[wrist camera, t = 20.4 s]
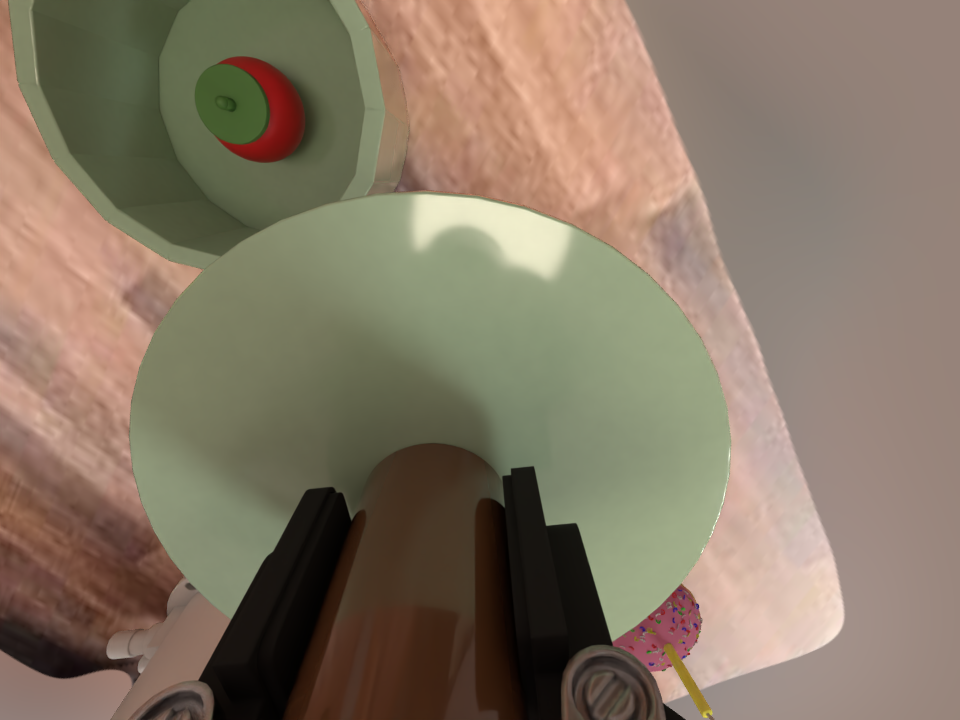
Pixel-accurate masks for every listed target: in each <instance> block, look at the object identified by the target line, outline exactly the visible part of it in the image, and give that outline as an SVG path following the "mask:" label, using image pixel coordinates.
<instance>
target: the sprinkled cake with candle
mask: <svg viewBox="0 0 960 720" xmlns="http://www.w3.org/2000/svg"><path fill="white" fill-rule="evenodd" d="M697 605H698V604H697V603H696V600H695V598H694V596H693V595H692V593H691V592H690V591H689V590H688V589H687V588H686V587H684V586H683V585H682V583H681V584H680V585H679V587H678V588H677V589H676V590H675V591H674V592H673V593H672V594H671V595H670V596H669V597H668V598H667V599H666V600H665V601H664V602H663V604H662V605H661V606H660V607H658V608H657V609H656V610H655V611H654V612H653V613H651V614H650V615H649V616H648V617H647V618H645V619H644V620H643V621H642V622H641V623H639V624H638V625H637V626H636V627H634V628H633V629H631V630H630V631H628V632H627V633H625V634H624V635H622V636H621V637H619V638H618V639H616V640H615V641H613V642H612V643H613V646H614V647H619V648H621V649H623V650H625V651H627V652H629V653H631V654H633V655H634V656H635V657H636V658H637V659H639V660H640V661H641V662H642V663H643V664H644V665H645V666H646V667H647V668H648V670H649V671H650V672H653V671H661V670H662V671H665V670H666V668H668V667H672V665H673V666H674V668H675V670H676V671H677V673H678V675H679V677H680V678H681V680H682V682H683V684H684V685H685V687H686V689H687V690H688V692H689V694H690V696H691V697H692V699H693V701H694V703H695V704H696V706H697V708H698V709H699V711H700V713H701V715H702V716H703V717H704V718H709V719H710V720H714V719H713V717H712V716H711V715H712V710H711V709H710V707H709V705H708V704H707V702H706V700H705V699H704V697H703V695H702V694H701V692H700V690H699V689H698V687H697V685H696V684H695V682H694V680H693V679H692V677H691V675H690V674H689V672H688V670H687V669H686V667H685V665H684V664H683V662H682V661H681V660H683V658H685V657H687V656H686V655H690V653H688V652H689V651H690V650H691V649H692V647H693V646H694V645H695V643H698V642H697V639H698V637H699V635H698V634H699V633H700V632H701V631H699V630H701V623H702V618H701V617H700V612H699V605H698V606H697Z"/></svg>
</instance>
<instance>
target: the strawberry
mask: <svg viewBox="0 0 960 720" xmlns="http://www.w3.org/2000/svg"><path fill="white" fill-rule="evenodd" d="M195 104H196V108H197V111H198V114H199V116H200V118H201V120H202V122H203V123H204V125H205V126H206V127H207V128H208V130H209V131H210V132H211V133H213V134H214V136H215V137H216V138H217V139H218V140H219V141H220V142H221V143H222V144H223V145H224V146H225V147H226V148H227V149H228V150H229V151H231V152H232V153H234V154H236V155H237V156H239V157H242V158H244V159H246V160H249V161H253V162H258V163H271V162H276V161H279V160H282V159H284V158H286V157H288V156H289V155H290V154H292V153H293V152H294V151H295V150H296V149H297V147H298V146H299V144H300V142H301V140H302V138H303V135H304V131H305V112H304V107H303V104H302V101H301V98H300V96H299V94H298V92H297V90H296V89H295V87H294V86H293V84H292V83H291V82H290V80H289V79H288V78H287V77H286V76H285V75H284V74H283V73H282V72H281V71H279V70H278V69H277V68H275V67H274V66H272V65H271V64H269V63H267V62H265V61H262V60H260V59H257V58H253V57H247V56H236V57H231V58H227V59H225V60H223V61H220V62H219V63H217V64H216V65H213V66H211V67H209V68H207V69H206V70H205V71H204V72H203V73H202V74H201V75H200V77H199V79H198V81H197V83H196V87H195Z"/></svg>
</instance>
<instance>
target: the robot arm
mask: <svg viewBox="0 0 960 720" xmlns="http://www.w3.org/2000/svg"><path fill="white" fill-rule="evenodd" d="M502 481H503V493H504V504H505V515H506V526H507V538H508V549H509V560H510V571H511V583H512V594H513V605H514V617H515V627H516V637H517V646H518V655H519V663H520V671H521V679H522V686H523V688H524V690H525V693H526V697H527V702H528V712H529V720H685V719H684V718H683V717H681V716H680V715H678V714H677V713H676V712H675V711H673V710H672V709H670V708H669V707H667V706H666V705H665V704H664V703H663V702H662V697H661V694H660V691H659V688H658V686H657V683H656V680H655V679H654V677H653V676H652V674H651V673H650V671H649V670H648V668H647V667H646V666H645V665H644V664H643V663H642V662H641V661H640V660H639V659H637V658H636V657H635V656H634V655H633V654H631V653H629V652H627V651H625V650H623V649H621V648H619V647H614V646H613V643H612V640H611V637H610V633H609V630H608V626H607V623H606V619H605V616H604V613H603V609H602V606H601V602H600V599H599V596H598V592H597V589H596V585H595V582H594V578H593V575H592V572H591V568H590V565H589V561H588V558H587V555H586V551H585V548H584V544H583V541H582V538H581V534H580V531H579V528H578V525H577V524H576V523H569V524H559V525H549V526H546V523H545V518H544V513H543V508H542V503H541V498H540V493H539V488H538V483H537V478H536V473H535V468H534V466H530V467H520V468H511V475H505V476H502ZM351 522H352V521H351V518H350V514H349V511H348V507H347V504H346V501H345V497H344V495H343V493H342V492H336V490H335V488H334V487H323V488H313V489H308V490H306V492H305V493H304V495H303V496H302V498H301V500H300V502H299V504H298V506H297V508H296V510H295V511H294V513H293V515H292V517H291V519H290V521H289V523H288V524H287V526H286V528H285V530H284V532H283V534H282V536H281V538H280V539H279V541H278V543H277V545H276V547H275V549H274V551H273V552H272V553H270V554H269V555H268V556H267V557H266V558H265V560H264V561H263V563H262V564H261V566H260V568H259V570H258V572H257V574H256V575H255V577H254V579H253V581H252V583H251V584H250V586H249V588H248V590H247V592H246V594H245V595H244V597H243V599H242V601H241V603H240V605H239V606H238V608H237V610H236V612H235V614H234V616H233V617H232V619H231V620H230V619H229V618H228V617H227V616H225V615H224V614H223V613H222V612H220V611H219V610H218V609H216V608H215V607H214V606H213V605H212V604H211V603H210V602H209V601H208V600H207V599H206V598H205V597H204V596H203V595H202V594H201V593H200V592H199V591H198V590H197V589H196V588H195V587H194V586H193V585H192V584H190V582H189V581H188V580H187V579H186V577H185V576H184V577H183V578H182V579H181V580H180V581H179V583H178V584H177V585H176V587H175V588H174V590H173V591H172V593H171V594H170V597H169V600H168V602H167V616H168V617H167V618H166V620H165V621H164V622H162V623H157V624H155V625H153V626H152V627H151V628H150V629H148V630H144V629H136V630H126V631H118V632H117V633H115V634H114V635H113V636H112V637H111V639H110V640H109V642H108V645H107V652H106V653H107V656H108V658H110V659H120V658H130V657H135V656H138V655H143V657H142V658H141V659H140V661H139V663H138V672H139V673H141V675H140V676H139V678H138V679H137V681H136V682H135V684H134V685H133V686H132V688H131V689H130V691H129V692H128V694H127V696H126V697H125V699H124V700H123V701H122V703H121V705H120V706H119V707H118V709H117V710H116V712H115V713H114V715H113V716H112V718H111V720H281V719H282V716H283V713H284V710H285V708H286V705H287V702H288V699H289V696H290V694H291V691H292V688H293V685H294V682H295V680H296V677H297V674H298V671H299V668H300V665H301V663H302V660H303V657H304V654H305V651H306V649H307V646H308V643H309V640H310V637H311V634H312V632H313V629H314V626H315V623H316V620H317V618H318V615H319V612H320V609H321V606H322V603H323V601H324V598H325V595H326V592H327V589H328V587H329V584H330V581H331V578H332V575H333V573H334V570H335V567H336V564H337V561H338V558H339V556H340V553H341V550H342V547H343V544H344V542H345V539H346V536H347V533H348V530H349V527H350V525H351Z"/></svg>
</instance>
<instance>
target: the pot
mask: <svg viewBox="0 0 960 720" xmlns="http://www.w3.org/2000/svg"><path fill="white" fill-rule="evenodd" d="M8 5H9V13H10V22H11V31H12V39H13V48H14V57H15V65H16V74H17V81H18V83H19V84H18V85H19V88H20V90H21V92H22V94H23V96H24V98H25V101H26V103H27V105H28V107H29V109H30V111H31V114H32V116H33V118H34V120H35V122H36V124H37V127H38V129H39V131H40V133H41V135H42V137H43V140H44V142H45V144H46V146H47V148H48V150H49V153H50V155H51V157H52V159H53V160H55V161H54V162H55V163H56V164H57V166H58V167H59V168H60V169H61V170H62V171H63V172H64V174H65V175H66V176H67V177H68V178H69V179H70V180H71V182H72V183H73V184H74V185H75V186H76V187H77V188H78V190H79V191H80V192H81V193H82V194H83V195H84V196H85V198H86V199H87V200H88V201H89V202H90V203H91V204H92V206H93V207H94V208H95V209H96V210H97V211H98V213H99V214H100V215H101V216H102V217H103V218H104V219H105V220H106V221H108V223H110V224H112V225H113V226H115V227H116V228H118V229H119V230H121V231H123V232H124V233H126V234H127V235H129V236H130V237H132V238H134V239H135V240H137V241H138V242H140V243H142V244H143V245H145V246H146V247H148V248H149V249H151V250H153V251H154V252H156V253H157V254H159V255H160V256H162V257H164V258H165V259H168V260H169V261H172V262H176V263H180V264H184V265H188V266H192V267H196V268H200V269H205V268H206V267H208V266H209V265H210V264H212V263H213V262H214V261H215V260H217V259H218V258H219V257H221V256H222V255H223V254H225V253H226V252H227V251H229V250H230V249H231V248H233V247H234V246H235V245H236V244H238V243H239V242H240V241H242V240H244V239H246V238H248V237H250V236H252V235H253V234H255V233H257V232H259V231H261V230H263V229H265V228H266V227H268V226H270V225H272V224H274V223H276V222H278V221H280V220H281V219H284V218H287V217H290V216H293V215H296V214H298V213H301V212H304V211H307V210H310V209H312V208H315V207H318V206H321V205H324V204H326V203H331V202H336V201H341V200H346V199H351V198H357V197H362V196H367V195H372V194H377V193H388V192H394V190H395V188H396V186H397V185H398V183H399V181H400V178H401V173H402V170H403V166H404V162H405V158H406V152H407V143H408V134H409V122H408V113H407V105H406V98H405V94H404V90H403V85H402V81H401V75H400V70H399V68H398V65H397V64H396V62H395V60H394V58H393V56H392V55H391V53H390V51H389V49H388V47H387V45H386V43H385V42H384V40H383V38H382V36H381V35H380V33H379V31H378V29H377V27H376V26H375V24H374V22H373V20H372V18H371V16H370V15H369V13H368V12H367V10H366V8H365V7H364V5H363V4H362V2H361V1H360V0H8ZM236 56H247V57H253V58H257V59H260V60H262V61H265V62H267V63H269V64H271V65H272V66H274V67H275V68H277V69H278V70H279V71H281V72H282V73H283V74H284V75H285V76H286V77H287V78H288V79H289V80H290V82H291V83H292V84H293V86H294V87H295V89H296V90H297V92H298V94H299V96H300V98H301V101H302V104H303V107H304V112H305V131H304V135H303V138H302V140H301V142H300V144H299V146H298V147H297V149H296V150H295V151H294V152H293V153H292V154H290V155H289V156H288V157H286V158H284V159H282V160H279V161H276V162H271V163H258V162H253V161H249V160H246V159H244V158H242V157H239V156H237V155H236V154H234V153H232V152H231V151H229V150H228V149H227V148H226V147H225V146H224V145H223V144H222V143H221V142H220V141H219V140H218V139H217V138H216V137H215V136H214V134H213V133H211V132H210V131H209V130H208V128H207V127H206V126H205V125H204V123H203V122H202V120H201V118H200V116H199V114H198V111H197V108H196V104H195V87H196V83H197V81H198V79H199V77H200V75H201V74H202V73H203V72H204V71H205V70H206V69H207V68H209V67H211V66H213V65H216V64H217V63H219V62H220V61H223V60H225V59H227V58H231V57H236Z"/></svg>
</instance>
